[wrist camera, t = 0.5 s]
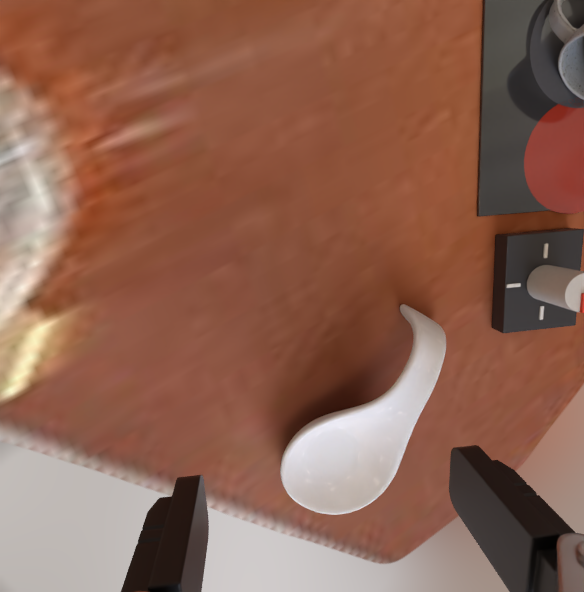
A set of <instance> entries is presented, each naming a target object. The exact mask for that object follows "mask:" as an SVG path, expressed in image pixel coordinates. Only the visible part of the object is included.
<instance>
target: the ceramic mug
mask: <svg viewBox="0 0 584 592" xmlns="http://www.w3.org/2000/svg"><path fill="white" fill-rule="evenodd" d="M564 1H565V0H554V2H553V4H552V6H551V8H550V11H549V23H550V27H551V29H552V30H553V32H554V33H555V34H556V35H557V37H558V38H559V39H560V40H561V41H562V42H563V43H564V46H563V48H562V49H561V51H560V55H559V58H558V70H559V73H560V76H561V78H562V80H563V82H564V84H565V85H566V86H567V88H568V89H569V90H570V91H571V92H572V93H573V94H575V95H576V96H578V97H579V98H580V99H583V100H584V24H583V25H582V26H581V27H580V28H579V29H576V28H574V27H572V25H571V24H570V23H569V21H568V20H567V19H566V18H565V16H564V14H563V13H562V8H561V5H562V3H563V2H564Z"/></svg>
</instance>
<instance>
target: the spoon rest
mask: <svg viewBox="0 0 584 592" xmlns="http://www.w3.org/2000/svg"><path fill="white" fill-rule="evenodd" d="M400 311H401V313H402V315H403V316H404V317H405V319H406V320H407V321H408V322H409V323H410V324H411V327H412V329H413V336H414V337H413V347H412V351H411V354H410V357H409V359H408V361H407V363H406V366H405V368H404V370H403V371H402V373H401V375H400V377H399V378H398V379H397V381H396V382H395V383H394V384H393V386H392V387H391V388H390V389H389V390H388V391H387V392H386V393H384V394H383V395H381V396H380V397H378V398H377V399H375V400H373V401H371V402H368V403H365V404H363V405H360V406H356V407H353V408H349V409H345V410H341V411H337V412H333V413H330V414H327V415H324V416H321V417H319V418H317V419H315V420H313V421H311V422H310V423H308V424H307V425H305V426H304V427H303V428H302V429H300V430H299V431H298V432H297V433H296V434H295V436H294V437H293V438H292V439H291V441H290V442H289V444H288V446H287V447H286V449H285V451H284V454H283V456H282V460H281V468H280V474H281V480H282V483H283V486H284V488H285V490H286V491H287V493H288V494H289V496H290V497H291V498H292V499H293V500H294V501H296V502H297V503H298V504H300V505H302V506H303V507H305V508H307V509H310V510H312V511H315V512H318V513H323V514H332V515H335V514H345V513H350V512H353V511H356V510H359V509H361V508H363V507H365V506H367V505H368V504H370V503H371V502H373V501H374V500H375V499H377V498H378V497H379V496H380V495H381V494H382V493H383V492H384V491H385V490H386V488H387V487H388V486H389V484H390V483H391V481H392V479H393V478H394V476H395V474H396V472H397V470H398V467H399V465H400V462H401V460H402V457H403V454H404V452H405V449H406V446H407V443H408V441H409V438H410V435H411V433H412V431H413V428H414V426H415V424H416V422H417V420H418V418H419V416H420V414H421V411H422V410H423V408H424V406H425V404H426V402H427V401H428V399H429V397H430V395H431V393H432V391H433V389H434V386H435V384H436V382H437V379H438V376H439V374H440V371H441V367H442V364H443V360H444V356H445V351H446V336H445V333H444V330H443V329H442V327H441V326H440V325H439V324H438V323H436V322H435V321H433V320H431V319H430V318H428V317H427V316H425V315H423V314H422V313H420V312H418V311H416V310H415V309H413V308H411V307H409V306H407V305H404V304H402V305H401V306H400Z"/></svg>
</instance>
